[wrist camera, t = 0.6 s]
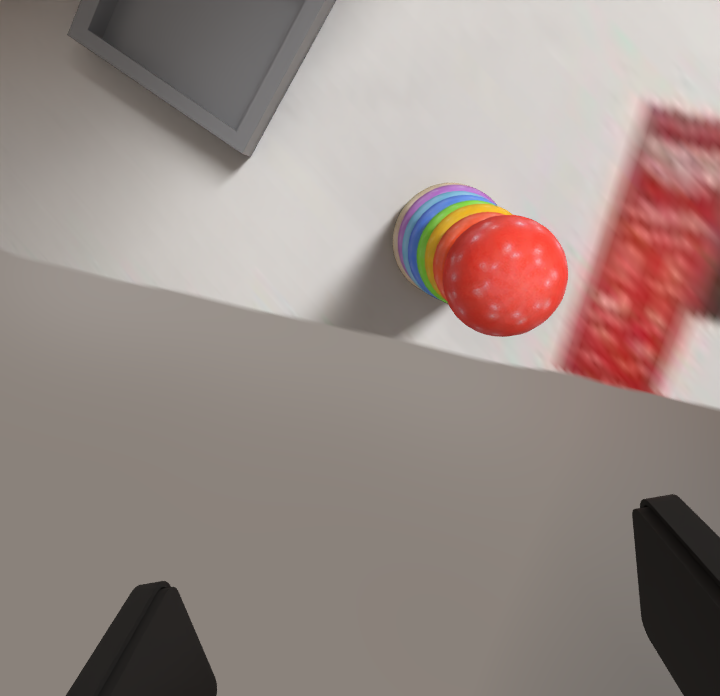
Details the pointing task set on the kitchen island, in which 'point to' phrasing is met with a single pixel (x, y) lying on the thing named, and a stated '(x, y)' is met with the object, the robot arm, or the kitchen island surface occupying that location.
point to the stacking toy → (480, 259)
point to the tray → (207, 54)
